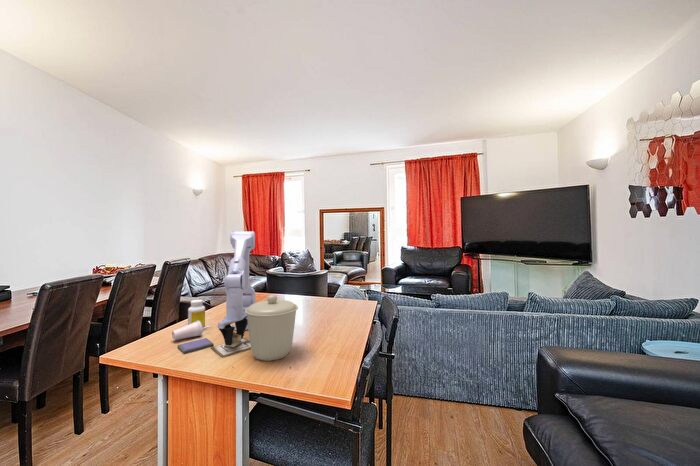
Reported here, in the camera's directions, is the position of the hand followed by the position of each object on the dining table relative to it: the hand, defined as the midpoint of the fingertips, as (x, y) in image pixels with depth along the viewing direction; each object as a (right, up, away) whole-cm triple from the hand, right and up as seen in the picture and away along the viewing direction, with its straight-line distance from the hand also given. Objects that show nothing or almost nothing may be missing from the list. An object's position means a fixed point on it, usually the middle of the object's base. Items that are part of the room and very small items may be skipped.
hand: (234, 341), depth 102 cm
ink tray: (-15, -2, +1) cm, 15 cm away
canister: (+16, -3, -6) cm, 17 cm away
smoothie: (-26, 0, +5) cm, 27 cm away
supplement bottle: (-25, -2, +19) cm, 31 cm away
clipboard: (0, -2, 0) cm, 2 cm away
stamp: (-1, -2, 0) cm, 2 cm away
